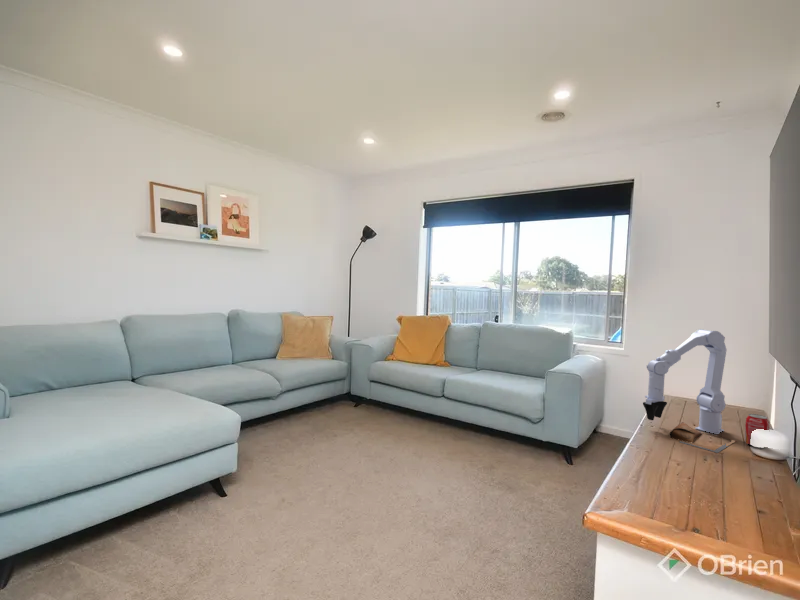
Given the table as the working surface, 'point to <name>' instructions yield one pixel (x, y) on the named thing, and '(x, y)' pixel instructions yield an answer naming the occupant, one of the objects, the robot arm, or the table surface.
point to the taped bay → (709, 449)
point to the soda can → (755, 425)
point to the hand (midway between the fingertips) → (654, 418)
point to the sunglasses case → (684, 433)
